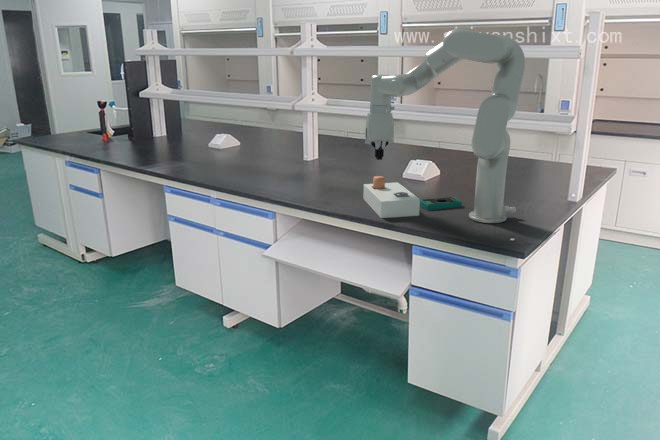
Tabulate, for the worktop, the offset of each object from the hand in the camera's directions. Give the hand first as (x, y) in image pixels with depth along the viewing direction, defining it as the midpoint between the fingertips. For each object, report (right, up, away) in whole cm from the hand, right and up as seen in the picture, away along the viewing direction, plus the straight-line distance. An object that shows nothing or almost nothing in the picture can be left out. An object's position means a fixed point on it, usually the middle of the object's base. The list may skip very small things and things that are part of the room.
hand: (379, 159), depth 199 cm
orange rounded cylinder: (0, -12, +4) cm, 13 cm away
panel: (+4, -18, -1) cm, 18 cm away
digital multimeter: (+23, -18, 0) cm, 29 cm away
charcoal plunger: (+8, -19, -7) cm, 21 cm away
